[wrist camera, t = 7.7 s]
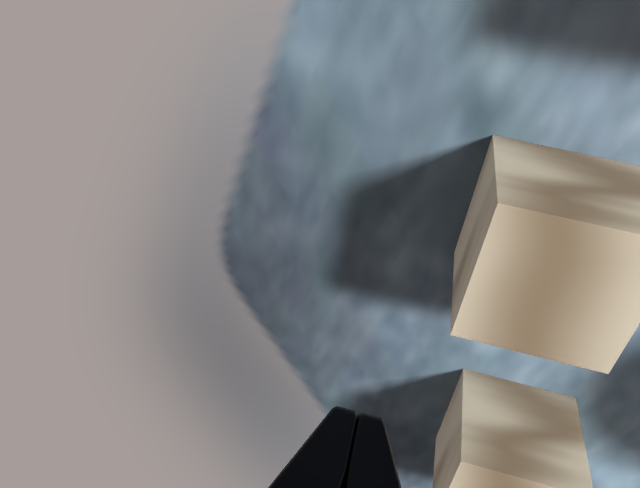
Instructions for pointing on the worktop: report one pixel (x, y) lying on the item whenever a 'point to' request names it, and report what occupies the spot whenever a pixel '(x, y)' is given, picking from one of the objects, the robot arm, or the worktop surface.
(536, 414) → the one stroke block
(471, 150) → the worktop surface
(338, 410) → the robot arm
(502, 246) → the plain block
